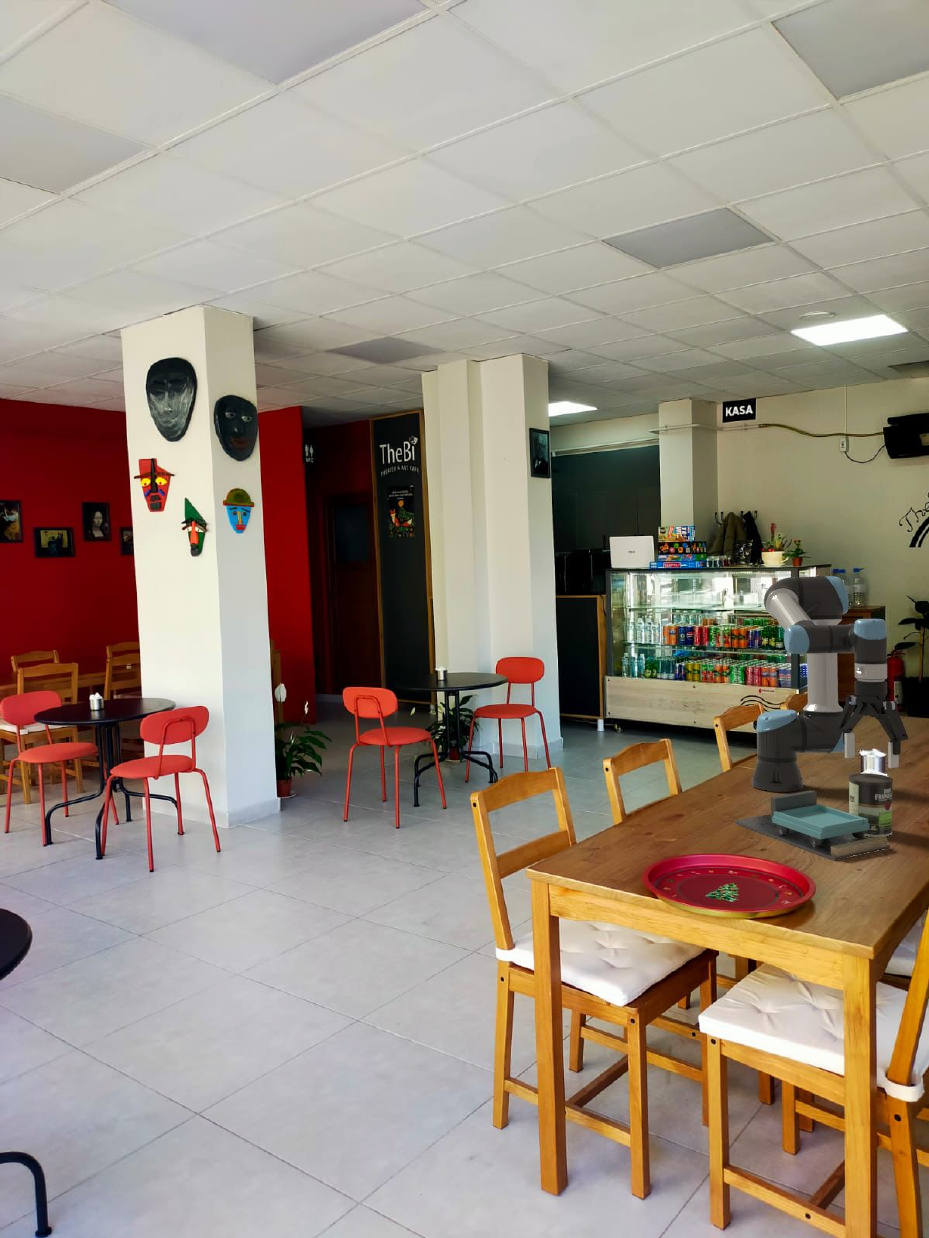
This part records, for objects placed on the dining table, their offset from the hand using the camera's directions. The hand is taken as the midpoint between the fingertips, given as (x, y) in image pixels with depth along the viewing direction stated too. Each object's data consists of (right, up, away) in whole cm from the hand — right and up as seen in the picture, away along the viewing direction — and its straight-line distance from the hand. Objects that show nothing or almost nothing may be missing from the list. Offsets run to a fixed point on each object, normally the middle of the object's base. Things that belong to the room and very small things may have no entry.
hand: (870, 762), depth 227 cm
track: (-16, -19, 0) cm, 25 cm away
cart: (-15, -18, -3) cm, 23 cm away
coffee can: (+1, -18, +1) cm, 18 cm away
